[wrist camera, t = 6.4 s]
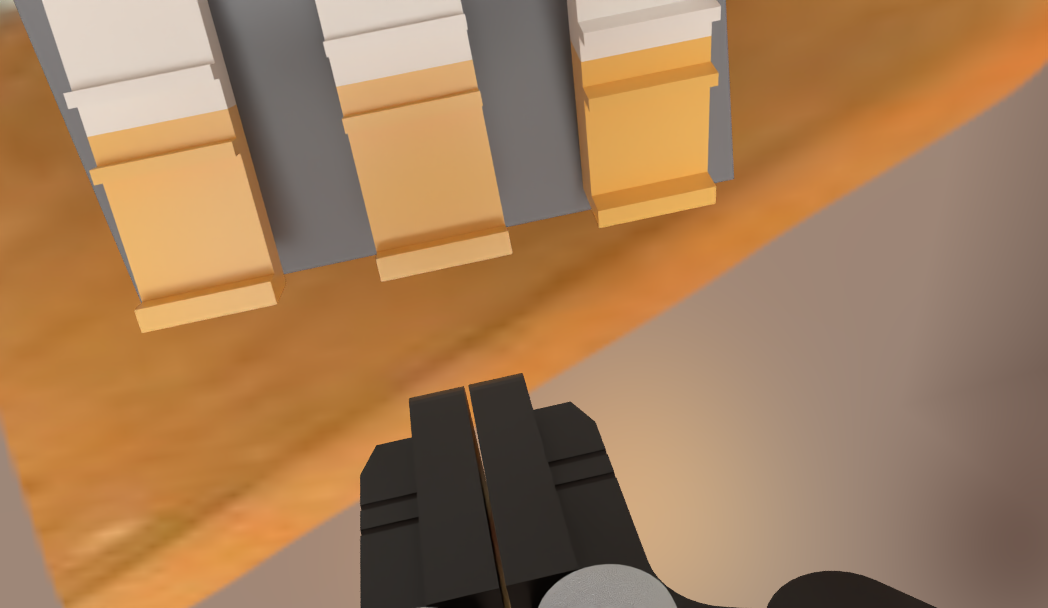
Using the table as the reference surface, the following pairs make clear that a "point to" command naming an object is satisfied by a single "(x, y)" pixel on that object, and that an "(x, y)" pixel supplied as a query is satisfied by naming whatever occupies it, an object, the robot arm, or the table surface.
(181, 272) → the switch
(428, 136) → the switch middle
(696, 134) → the switch
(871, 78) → the table surface
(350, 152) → the switch panel
